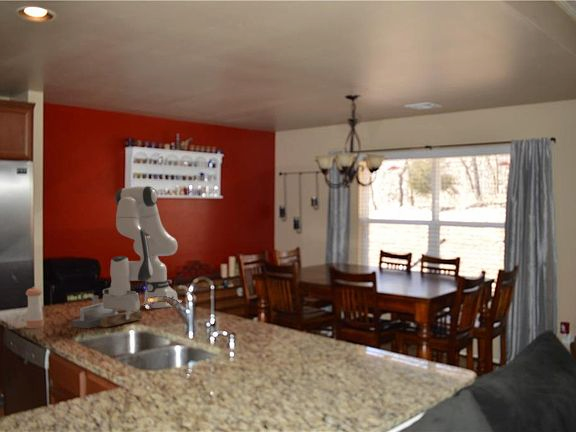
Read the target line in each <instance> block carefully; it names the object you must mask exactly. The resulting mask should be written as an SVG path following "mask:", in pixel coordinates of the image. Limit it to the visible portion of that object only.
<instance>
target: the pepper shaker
mask: <svg viewBox="0 0 576 432" xmlns="http://www.w3.org/2000/svg"><path fill="white" fill-rule="evenodd" d="M42 293H43V291H42V289H40V288H39V287H38V288H37V287H35V286H32V287H31V288H28V289H27V290H26V292H25V295H26V296H27V311H26V317H27V318H26V319H27V320H26V328H27V329H39V328H43V327H44V318H43V308H42V304H41V295H42Z"/></svg>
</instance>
